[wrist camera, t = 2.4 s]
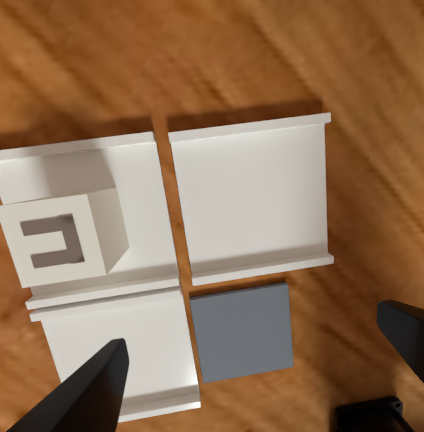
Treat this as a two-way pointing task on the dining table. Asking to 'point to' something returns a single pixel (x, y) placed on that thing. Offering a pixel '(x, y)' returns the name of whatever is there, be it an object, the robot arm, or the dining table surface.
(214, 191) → the tray
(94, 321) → the tray
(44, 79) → the dining table surface
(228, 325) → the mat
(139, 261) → the tray
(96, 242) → the letter cube
